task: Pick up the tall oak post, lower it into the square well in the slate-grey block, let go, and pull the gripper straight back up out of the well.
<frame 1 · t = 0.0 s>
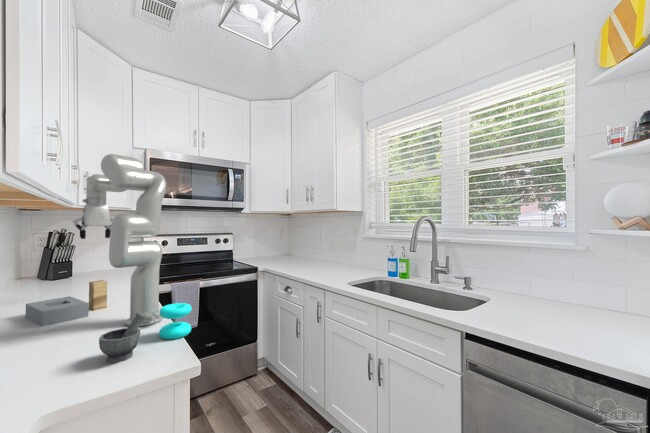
hand: (95, 238, 138), 31 cm above the worktop, tool pointing down, fingers open, 9 cm apart
oak post: (97, 308, 131), on the worktop
well block: (57, 316, 119), on the worktop
donuts: (175, 335, 100), on the worktop
mortar and pestle: (122, 357, 84), on the worktop
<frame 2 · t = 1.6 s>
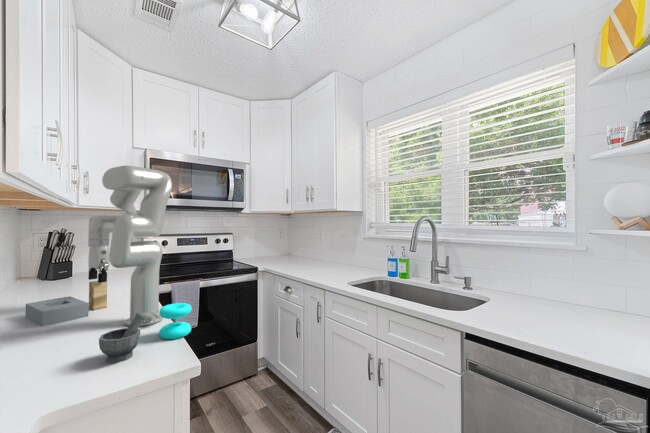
hand: (97, 280, 131), 12 cm above the worktop, tool pointing down, fingers open, 9 cm apart
nothing on the worktop moved.
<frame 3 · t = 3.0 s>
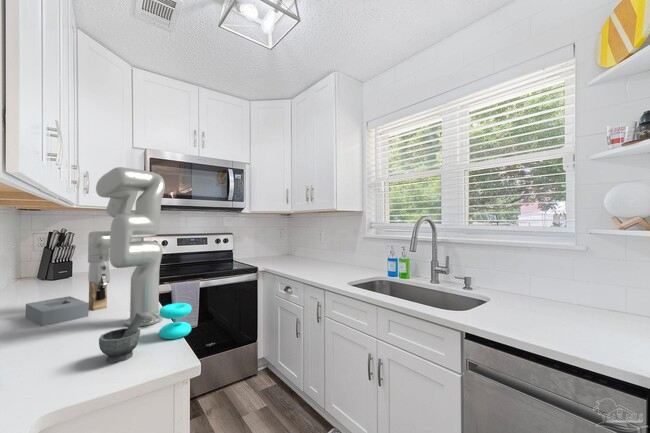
hand: (97, 298, 131), 4 cm above the worktop, tool pointing down, fingers closed on oak post, 5 cm apart
oak post: (97, 308, 131), on the worktop, touching gripper
everything else where it was.
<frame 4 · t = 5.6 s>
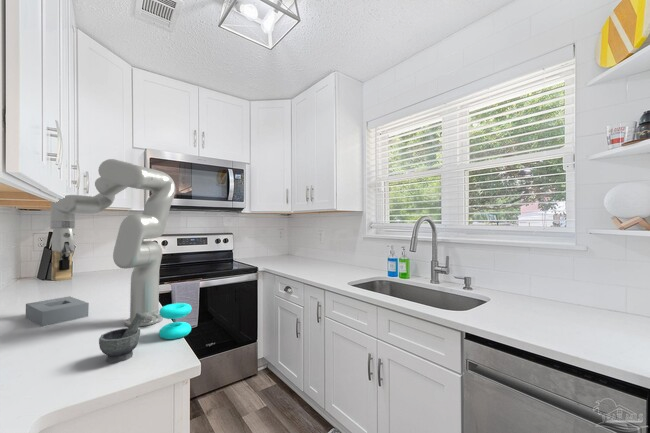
hand: (61, 268, 120), 20 cm above the worktop, tool pointing down, fingers closed on oak post, 5 cm apart
oak post: (61, 279, 120), point 15 cm above the worktop, touching gripper
everything else where it was.
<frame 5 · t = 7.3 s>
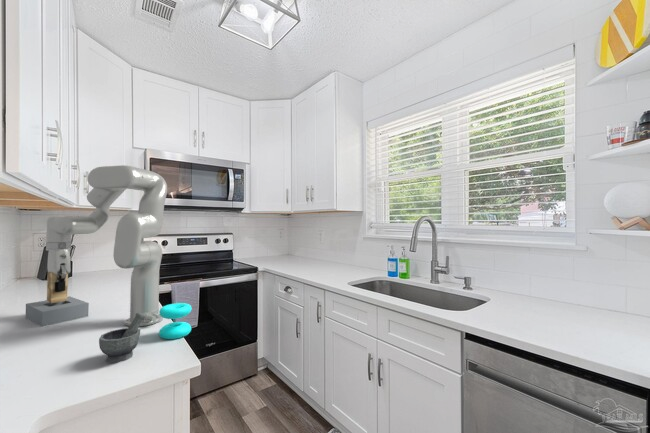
hand: (57, 290, 119), 11 cm above the worktop, tool pointing down, fingers closed on oak post, 5 cm apart
oak post: (56, 300, 119), point 6 cm above the worktop, touching gripper
everything else where it was.
when the fingers open (7 cm above the worktop, at t = 8.5 s): oak post drops 2 cm, resting on well block.
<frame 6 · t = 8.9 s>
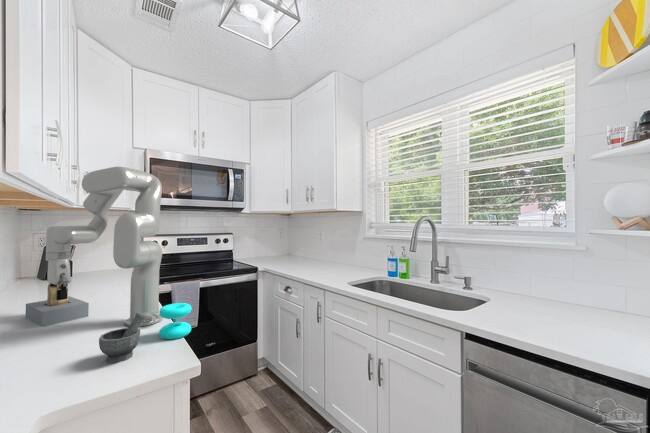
hand: (57, 297, 119), 8 cm above the worktop, tool pointing down, fingers open, 9 cm apart
oak post: (57, 315, 119), resting on well block
everything else where it was.
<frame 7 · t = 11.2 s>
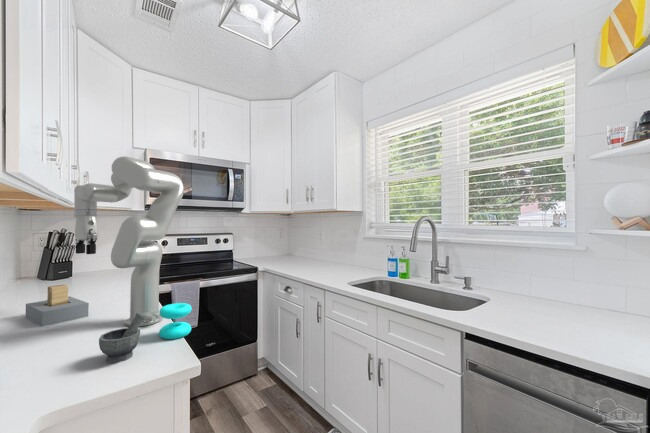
hand: (85, 253, 125), 25 cm above the worktop, tool pointing down, fingers open, 9 cm apart
nothing on the worktop moved.
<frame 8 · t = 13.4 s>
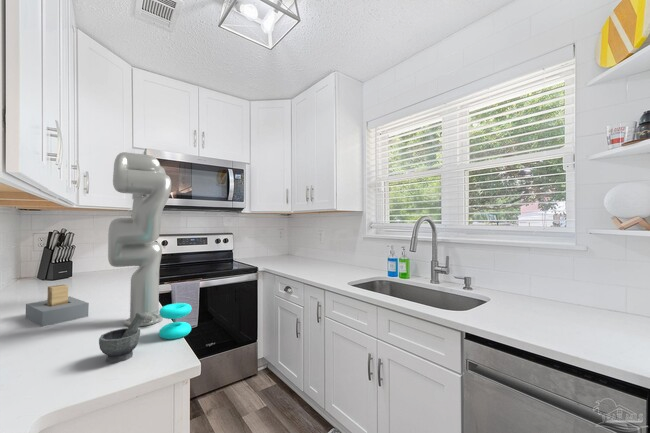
hand: (141, 231, 139), 34 cm above the worktop, tool pointing down, fingers open, 9 cm apart
nothing on the worktop moved.
at the end: oak post 0.1 cm off-centre on the well block, point 0.5 cm above the well block's base; oak post tilted 0°; the gripper is holding nothing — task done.
